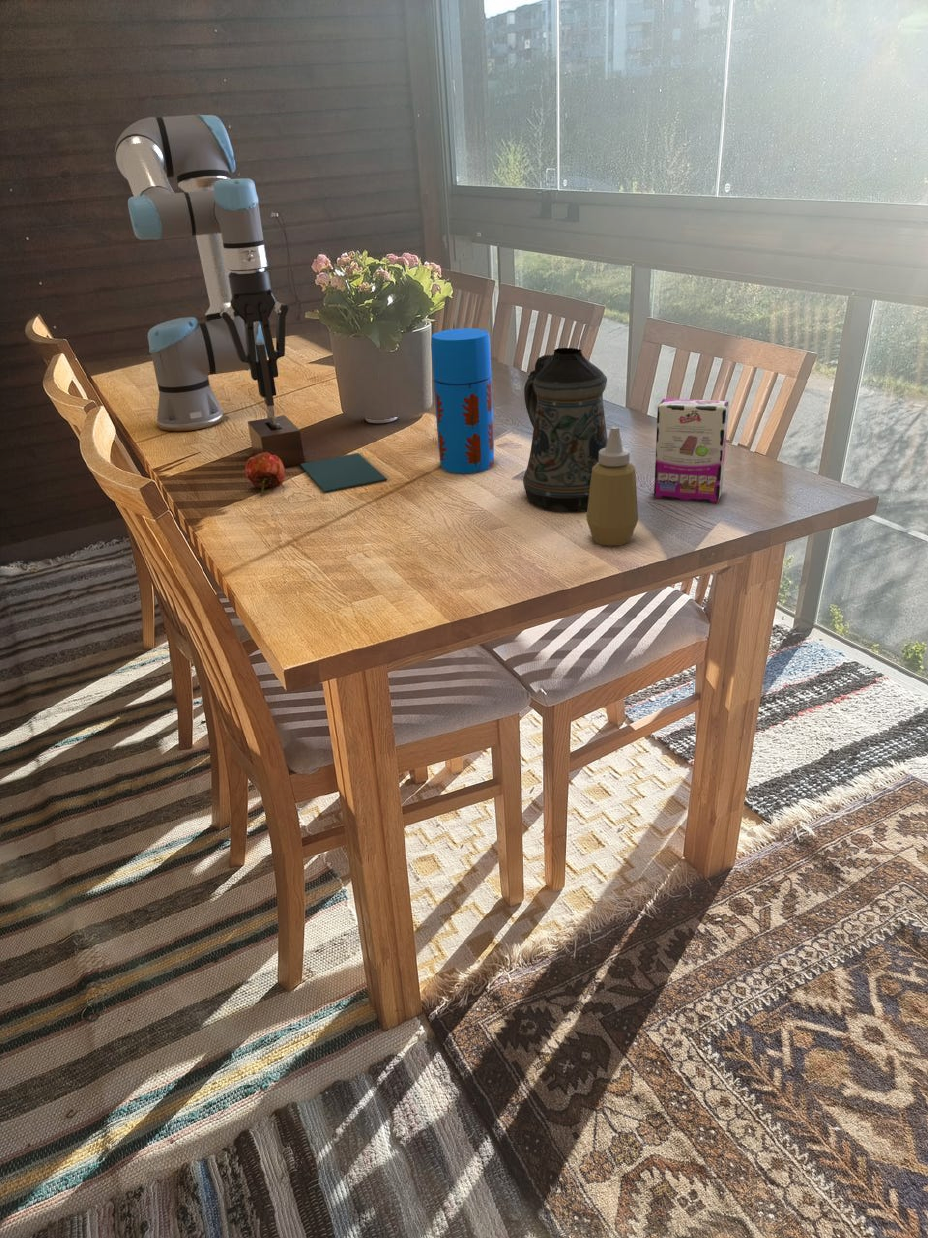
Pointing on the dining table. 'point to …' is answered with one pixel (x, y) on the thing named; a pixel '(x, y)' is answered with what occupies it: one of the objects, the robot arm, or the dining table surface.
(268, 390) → the fork
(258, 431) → the fork stand
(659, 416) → the candy bar box
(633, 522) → the squeeze bottle
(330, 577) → the dining table surface
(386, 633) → the dining table surface
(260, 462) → the red round fruit
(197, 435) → the dining table surface
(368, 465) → the mat
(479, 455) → the thermos
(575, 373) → the beer stein
